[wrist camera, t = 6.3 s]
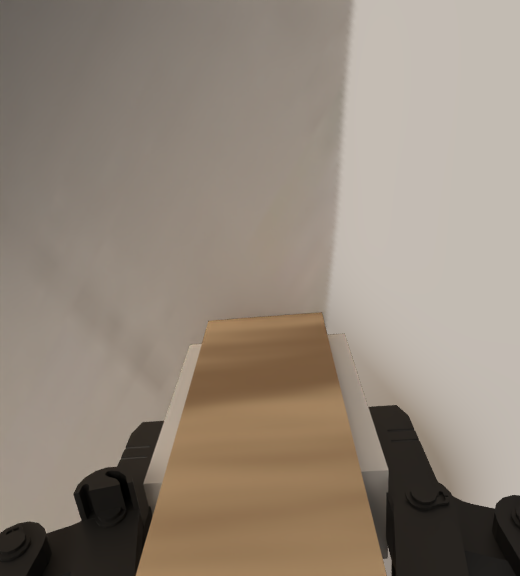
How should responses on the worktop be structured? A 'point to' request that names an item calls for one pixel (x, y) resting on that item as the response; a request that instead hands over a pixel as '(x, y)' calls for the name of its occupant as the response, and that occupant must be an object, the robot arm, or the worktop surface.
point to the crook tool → (263, 462)
